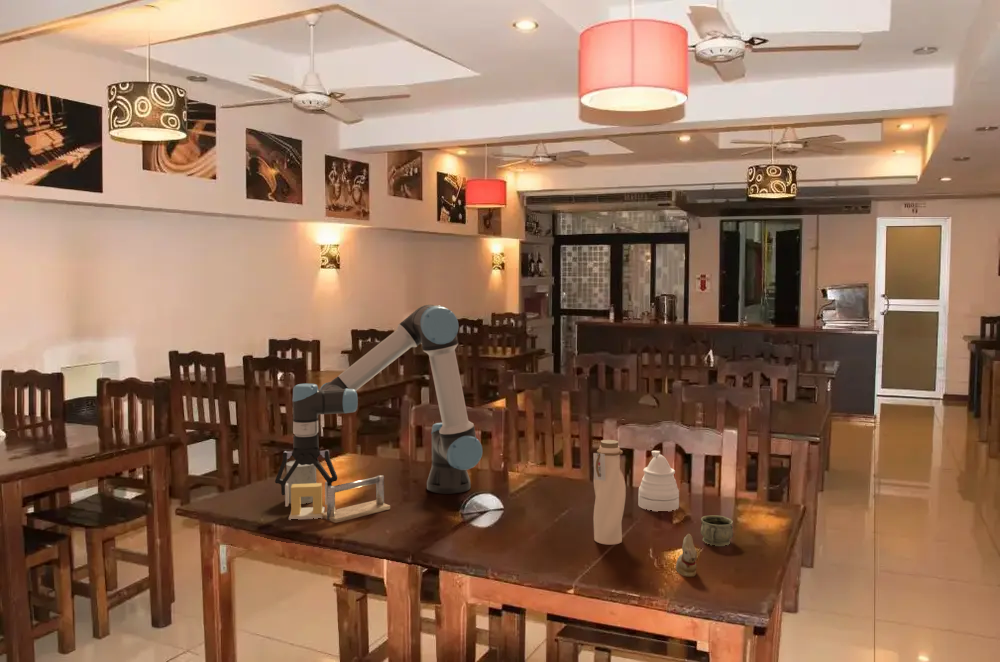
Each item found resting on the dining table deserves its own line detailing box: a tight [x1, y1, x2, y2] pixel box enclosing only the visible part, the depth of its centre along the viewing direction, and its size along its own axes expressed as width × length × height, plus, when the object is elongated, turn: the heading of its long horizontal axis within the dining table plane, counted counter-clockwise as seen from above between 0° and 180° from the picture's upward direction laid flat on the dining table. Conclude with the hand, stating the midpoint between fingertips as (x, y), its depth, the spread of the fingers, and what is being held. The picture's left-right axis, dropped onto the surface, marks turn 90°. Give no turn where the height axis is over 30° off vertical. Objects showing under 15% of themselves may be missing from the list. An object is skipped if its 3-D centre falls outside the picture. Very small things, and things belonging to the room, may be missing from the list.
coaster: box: [288, 506, 325, 521], centre depth 244 cm, size 10×10×1 cm
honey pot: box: [637, 450, 680, 512], centre depth 254 cm, size 13×13×18 cm
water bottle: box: [592, 439, 627, 545], centre depth 220 cm, size 10×9×28 cm
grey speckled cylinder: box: [285, 459, 317, 505], centre depth 259 cm, size 10×10×12 cm
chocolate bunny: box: [675, 533, 698, 578], centre depth 198 cm, size 6×8×10 cm
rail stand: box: [321, 474, 391, 524], centre depth 245 cm, size 20×8×10 cm, turn 134°
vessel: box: [700, 515, 734, 547], centre depth 220 cm, size 12×9×6 cm
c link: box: [290, 482, 323, 515], centre depth 244 cm, size 9×4×8 cm, turn 99°
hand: (306, 504), depth 244 cm, fingers open, 11 cm apart
